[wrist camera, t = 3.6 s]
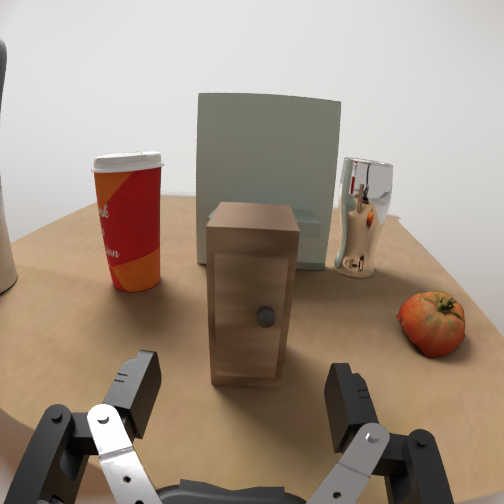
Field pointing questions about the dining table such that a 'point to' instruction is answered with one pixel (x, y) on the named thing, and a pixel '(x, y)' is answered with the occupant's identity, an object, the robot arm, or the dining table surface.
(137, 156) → the coffee cup
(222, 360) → the cabinet
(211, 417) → the dining table surface
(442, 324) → the tomato
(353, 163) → the beer glass
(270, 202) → the wall board
